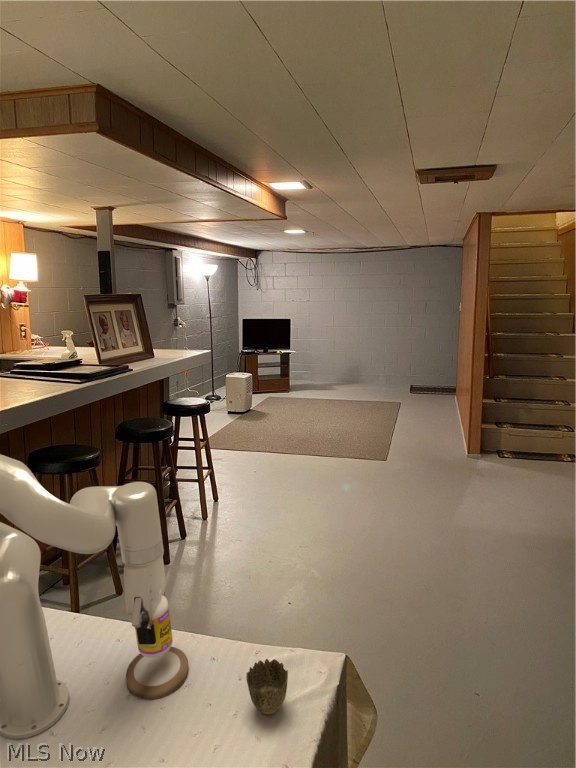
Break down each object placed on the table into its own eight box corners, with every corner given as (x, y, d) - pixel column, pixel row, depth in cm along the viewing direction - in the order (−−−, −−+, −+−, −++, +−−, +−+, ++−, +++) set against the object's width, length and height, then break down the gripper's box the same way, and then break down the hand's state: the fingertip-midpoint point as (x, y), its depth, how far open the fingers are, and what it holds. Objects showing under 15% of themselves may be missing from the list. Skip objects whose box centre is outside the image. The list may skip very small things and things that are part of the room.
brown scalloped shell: (242, 702, 104) (239, 667, 102) (278, 687, 107) (276, 652, 105) (259, 734, 98) (256, 697, 95) (296, 716, 101) (295, 680, 98)
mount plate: (117, 698, 106) (116, 691, 105) (138, 651, 117) (137, 644, 117) (180, 700, 105) (179, 692, 104) (194, 652, 116) (194, 645, 116)
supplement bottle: (164, 661, 106) (157, 604, 102) (132, 657, 107) (123, 600, 103) (178, 636, 112) (171, 581, 108) (147, 632, 113) (139, 578, 109)
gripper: (137, 523, 112) (148, 599, 117) (104, 577, 95) (118, 663, 100) (174, 523, 111) (183, 599, 116) (147, 578, 94) (159, 664, 100)
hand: (153, 628), depth 108 cm, fingers closed on supplement bottle, 6 cm apart
